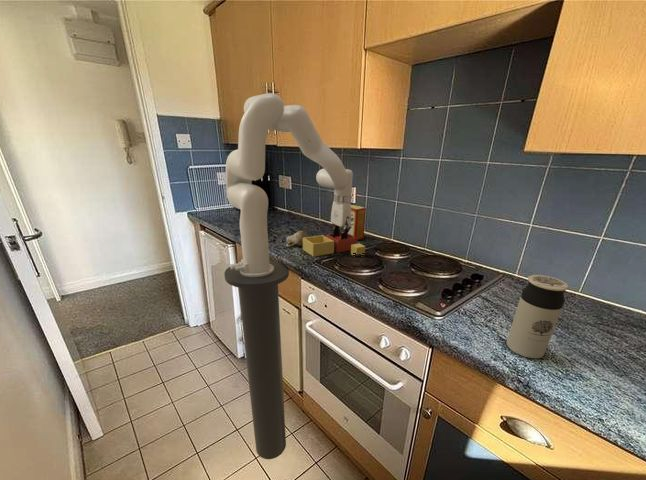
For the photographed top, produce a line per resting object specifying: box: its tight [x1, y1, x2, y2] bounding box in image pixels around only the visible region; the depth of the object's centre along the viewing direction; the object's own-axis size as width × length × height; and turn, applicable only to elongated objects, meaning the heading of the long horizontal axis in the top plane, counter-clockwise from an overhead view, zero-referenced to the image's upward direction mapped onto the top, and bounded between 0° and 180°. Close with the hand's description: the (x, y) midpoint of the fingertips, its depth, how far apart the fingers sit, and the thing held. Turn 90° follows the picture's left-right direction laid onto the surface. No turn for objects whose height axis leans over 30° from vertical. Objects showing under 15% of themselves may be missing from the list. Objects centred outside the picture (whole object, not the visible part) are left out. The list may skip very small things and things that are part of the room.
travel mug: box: [505, 274, 569, 359], centre depth 69 cm, size 8×8×18 cm
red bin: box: [325, 232, 358, 253], centre depth 138 cm, size 10×10×6 cm
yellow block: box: [350, 243, 366, 256], centre depth 130 cm, size 4×4×4 cm
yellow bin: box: [302, 234, 335, 257], centre depth 132 cm, size 10×10×6 cm
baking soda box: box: [344, 204, 367, 241], centre depth 151 cm, size 10×6×16 cm
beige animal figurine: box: [285, 230, 309, 248], centre depth 139 cm, size 8×10×10 cm
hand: (340, 239), depth 137 cm, fingers open, 5 cm apart
